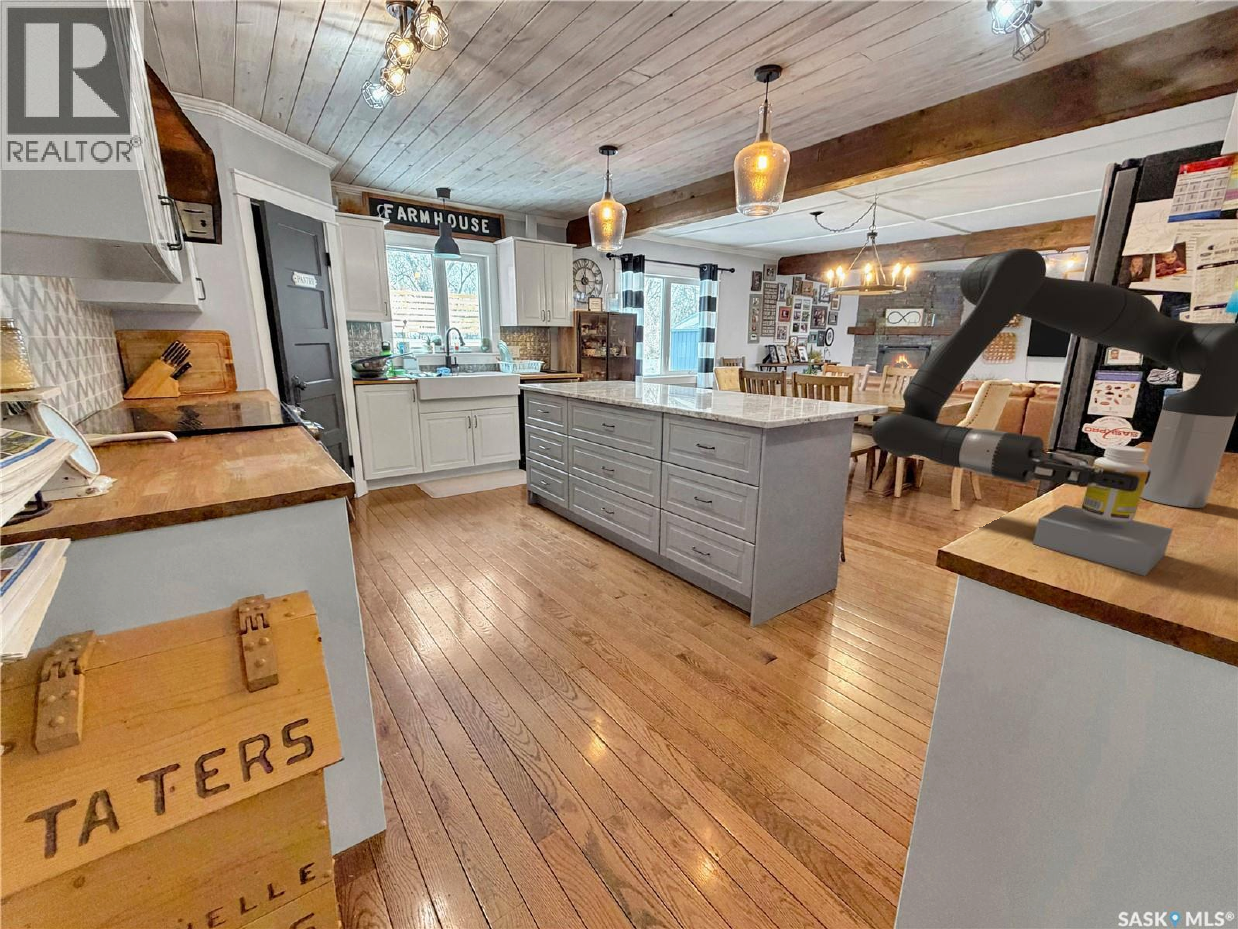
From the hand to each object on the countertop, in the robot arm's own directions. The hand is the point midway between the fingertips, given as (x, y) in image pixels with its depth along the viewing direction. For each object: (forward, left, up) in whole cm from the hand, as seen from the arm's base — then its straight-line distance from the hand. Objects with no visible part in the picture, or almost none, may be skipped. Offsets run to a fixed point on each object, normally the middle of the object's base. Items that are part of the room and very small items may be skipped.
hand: (1142, 480), depth 69 cm
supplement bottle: (0, -3, -6) cm, 7 cm away
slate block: (0, -3, -11) cm, 11 cm away
